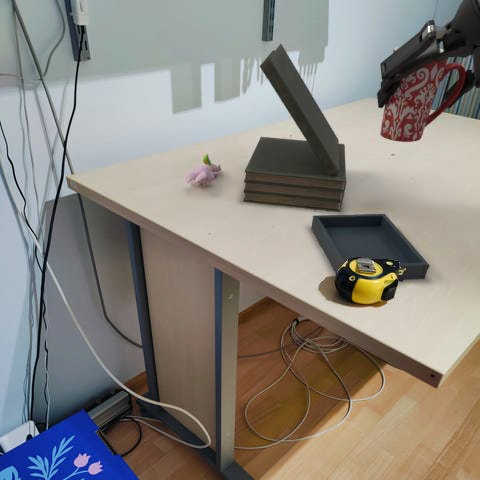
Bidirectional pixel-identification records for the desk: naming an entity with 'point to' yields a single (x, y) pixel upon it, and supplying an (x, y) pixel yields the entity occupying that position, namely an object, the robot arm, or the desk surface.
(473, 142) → the desk surface
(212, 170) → the pink toy figure
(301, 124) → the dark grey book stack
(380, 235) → the tray
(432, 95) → the mug
